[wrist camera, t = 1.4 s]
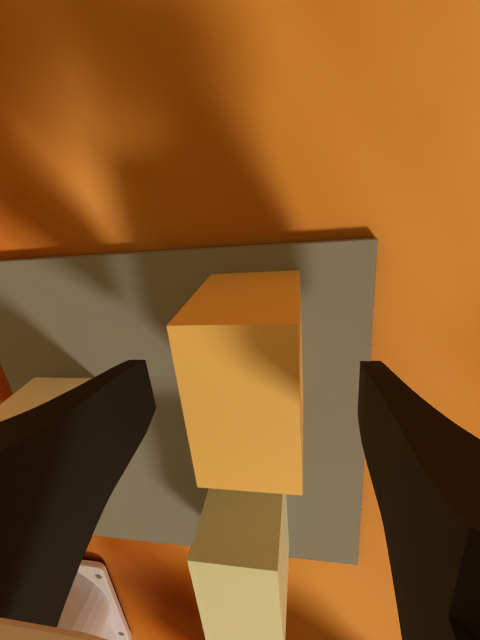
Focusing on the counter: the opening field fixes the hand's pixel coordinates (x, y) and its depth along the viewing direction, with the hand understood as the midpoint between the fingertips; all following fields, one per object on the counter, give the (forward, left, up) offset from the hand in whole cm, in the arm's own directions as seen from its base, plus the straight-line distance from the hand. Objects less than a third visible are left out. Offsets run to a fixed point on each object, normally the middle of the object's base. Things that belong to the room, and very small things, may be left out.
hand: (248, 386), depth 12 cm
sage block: (-10, +1, -4) cm, 11 cm away
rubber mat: (-5, +5, -4) cm, 8 cm away
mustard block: (0, 0, -3) cm, 3 cm away
